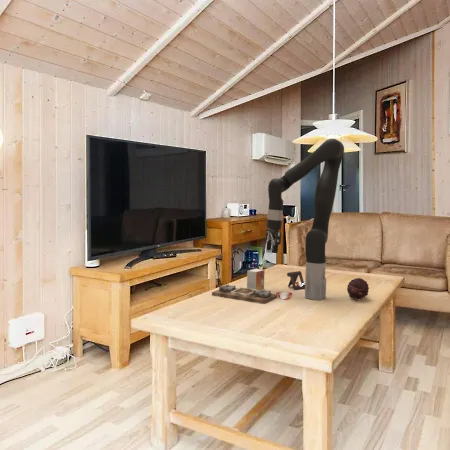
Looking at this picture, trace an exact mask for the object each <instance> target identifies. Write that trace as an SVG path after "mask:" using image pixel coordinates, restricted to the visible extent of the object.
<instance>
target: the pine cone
mask: <svg viewBox="0 0 450 450" xmlns="http://www.w3.org/2000/svg"><path fill="white" fill-rule="evenodd" d="M369 289H370V287H369V284H368V281H366V280H364V279H363V278H361V277H358V278H353V279H351V280H350V281H349V282H348V284H347V289H346V290H347V294H348V296H349V297H350V298H351V299H355V300H357V299H358V300H359V299H360V300H362V299H364V298H366V297H367V296H368V295H369Z"/></svg>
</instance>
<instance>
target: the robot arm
mask: <svg viewBox="0 0 450 450" xmlns="http://www.w3.org/2000/svg"><path fill="white" fill-rule="evenodd" d="M344 154H345V146H344V144H343V143H342V142H341V140H339V139H336V138H328V139H325V141H324V142H323V143H321V144H320V146H318V147H317V148H316V149H315V150H314V151H313V152H312V153H310V154H309V155H308V156H307V157H305V158H304V159H302V160H301V161H299V162H298V163H297V164H295V165H294V166H292V167H290V168H289V169H288V170H287V171H285V173H284V175H282V176H281V177H280V178H272V179H271V180H270V181H269V182H268V187H267V190H268V200H269V201H268V202H269V203H268V209H267V216H266V217H267V218H266V225H265V226H266V230H265V237H264V241H266V250H267V251H271V250H272V253H274V254H276V253H278V251H279V245H281V242H282V232H281V231H280V230H282V228H283V226H282V225H283V218H284V217H283V215H284V214H283V213H284V211H283V210H284V200H283V198H282V193H284V192H286V191H287V190H289V188H291V187H292V186H294V184H296V183H297V182H298V181H300V180H302V179H303V178H305V177H306V176H307V175H309V174H310V172H312V171H313V170H314V169H315V168H316V167H317V166H318V165H321V164H322V163H324V165H323V170H322V172H321V174H320V177H319V178H318V181H317V184H316V187H315V192H314V199H313V211H314V213H313V215H314V216H313V221H312V225H311V228H310V230H308V232H307V233H306V235H305V244H304V246H305V248H304V249H305V251H304V252H305V253H304V255H305V280H304V284H305V288H304V298H305V299H308V300H313V301H314V300H316V301H317V300H318V301H319V300H321V301H323V300H324V299H326V297H327V296H326V295H327V278H326V269H327V268H326V267H327V265H326V264H327V263H326V262H327V257H326V244H327V242H328V239H329V225H330V218H331V214H332V211H333V207H334V203H335V197H336V194H337V193H336V191H337V185H338V179H339V170H340V168H341V167H340V166H341V164H342V160H343V156H344ZM272 242H273V246H272ZM272 247H273V249H272Z"/></svg>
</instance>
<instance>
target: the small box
mask: <svg viewBox="0 0 450 450" xmlns="http://www.w3.org/2000/svg"><path fill="white" fill-rule="evenodd" d="M246 273H247V274H246V276H247V277H246V288H250V289H256V290H261V289H264V290H265V269H258V268H253V269H250V270H247V271H246Z"/></svg>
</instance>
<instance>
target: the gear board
mask: <svg viewBox="0 0 450 450" xmlns="http://www.w3.org/2000/svg"><path fill="white" fill-rule="evenodd" d="M211 295H212V296H214V297H219V298H225V299H233V300H239V301H244V302H245V301H246V302H250V303H256V304H262V305H263V304H264V305H265V304H268V303H270V302H271V301H272V302H273V301H274V300H275V299H277V298H278V294H277V293H272V291H271V290H265V288H264V289H261V290H256V289H250V288H247V287H242V286H241V287H239V288H237V287H236V285H230V283H229V284H228V283H226V284H225V285H222V284H221V285H219V287H218V289H216V290H214V291H211Z"/></svg>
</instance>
